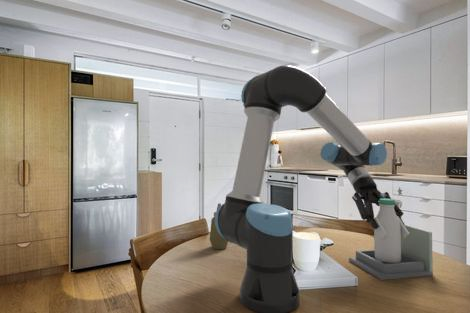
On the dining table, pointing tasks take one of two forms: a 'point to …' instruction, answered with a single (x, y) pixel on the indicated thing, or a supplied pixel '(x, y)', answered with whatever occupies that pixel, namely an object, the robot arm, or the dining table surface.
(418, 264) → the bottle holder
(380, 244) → the milk bottle
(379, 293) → the dining table surface
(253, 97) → the robot arm
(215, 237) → the squeeze bottle
